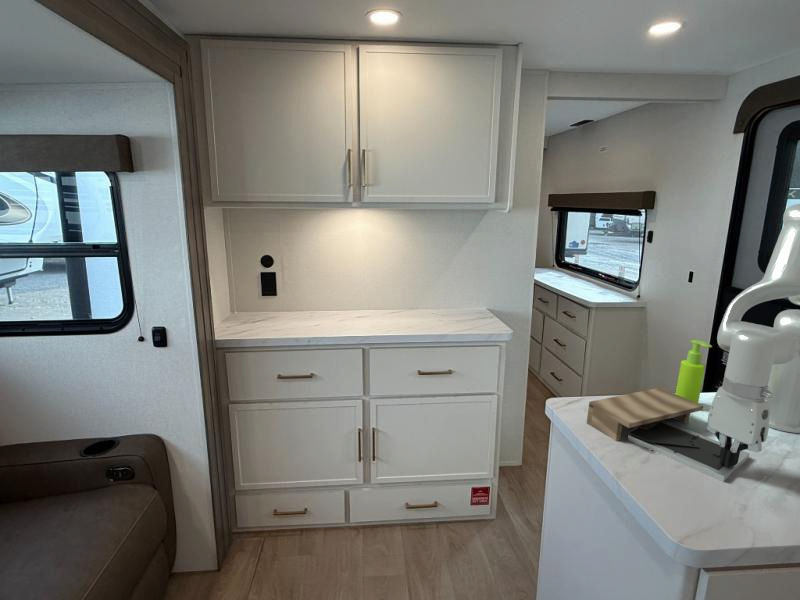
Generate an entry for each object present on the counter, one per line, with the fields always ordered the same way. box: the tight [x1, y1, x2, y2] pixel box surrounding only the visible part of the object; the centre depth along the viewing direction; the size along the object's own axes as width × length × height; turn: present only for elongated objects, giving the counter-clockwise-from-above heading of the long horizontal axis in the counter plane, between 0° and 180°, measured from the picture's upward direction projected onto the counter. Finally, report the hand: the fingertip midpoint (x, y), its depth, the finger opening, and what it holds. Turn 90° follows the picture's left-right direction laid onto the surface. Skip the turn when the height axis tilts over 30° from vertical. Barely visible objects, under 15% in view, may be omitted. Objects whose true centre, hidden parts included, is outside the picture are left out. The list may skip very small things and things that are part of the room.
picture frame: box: [627, 420, 750, 483], centre depth 110 cm, size 16×3×21 cm
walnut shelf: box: [586, 387, 704, 442], centre depth 121 cm, size 27×12×6 cm, turn 113°
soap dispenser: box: [675, 339, 713, 404], centre depth 131 cm, size 6×7×20 cm
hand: (727, 464), depth 101 cm, fingers closed
